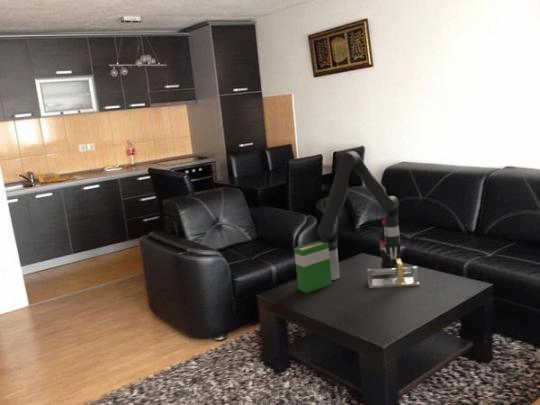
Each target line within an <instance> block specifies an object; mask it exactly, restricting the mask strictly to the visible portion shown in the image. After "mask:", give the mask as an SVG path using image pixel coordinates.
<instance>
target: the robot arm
mask: <svg viewBox="0 0 540 405" xmlns="http://www.w3.org/2000/svg"><path fill="white" fill-rule="evenodd" d="M352 171H355V173H356V174H357V175H358V176H359V177H360V179H361V181H362V183H363V184H364V186H365V187H366V189H367V190H368V191H369V192H370V193H371V195H372V196H373V197H374V198H375V199H376V202H377V203H378V205H379V206H380V207H381V209H383V210H384V211H385V212H386V213H385V215H384V222H385V247H384V248H382V249H381V251H382V252H383V253H384V255H385V256H386V257H387V258H390V259H391V264H392V265H393V266H395V264H397V262H396V259H400V257H401V256H402V255H403V253H404V252H405V251H406V248H405V246H402V244H401V239H400V228H399V218H398V217H399V209H400V202H399V199H398V198H397V197H396V196H394V195H388V193H387V189H386V187H385V186H384V185H383V184H382V183H381V182H380V181H379V180H378V179H377V178H376V176H374V174H373V173H372V172H371V171H370V170H369V168H368V167H367V165H366V164H365V163H364V161H363V160H362V158H361V156H360V155H359V154H358V152H356V151H354V150H347V151H345V152H343V153H342V154H341V155H340V157H339V158H338V163H337V168H336V173H335V176H334V180H333V182H332V186H331V189H330V191H329V194H328V197H327V200H326V205H325V210H324V212H323V216H322V218H321V219H320V222H319V225H318V227H317V235H318V237H319V238H320V239H321V243H328V246H329V257H330V269H331V281H334V280H337V279H339V278H340V277H341V276H340V267H339V265H340V264H339V254H338V253H339V252H338V241H339V239H338V238H339V236H338V226H337V225H336V220H337V218H338V216H339V214H340V213H341V210H342V208H343V207H344V204H345V202H346V199H347V196H348V191H349V179H350V178H349V177H350V175H351V173H352ZM385 249H387V251H388V252H390V255H388V254H387V252H386V250H385ZM399 250H400V251H399ZM393 253H394V258H393Z"/></svg>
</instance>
